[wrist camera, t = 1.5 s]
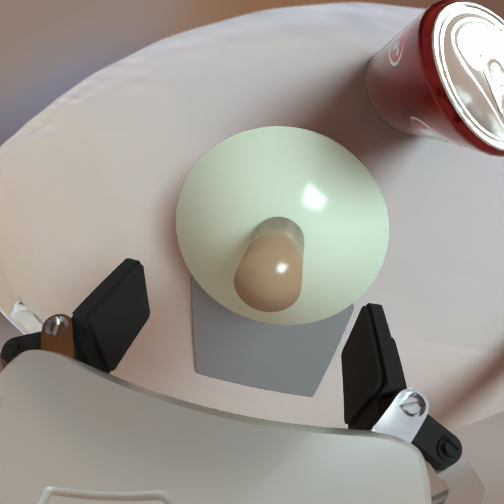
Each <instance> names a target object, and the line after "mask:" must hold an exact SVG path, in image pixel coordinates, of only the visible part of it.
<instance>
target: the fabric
mask: <svg viewBox="0 0 504 504" xmlns="http://www.w3.org/2000/svg"><path fill="white" fill-rule="evenodd" d="M10 317H11V318H12V319H13V320H16V321H17V322H19V323H20V324H22V325H23V326H24V327H25V328H26V329H27V332H28V334H31V333H35V332H39V331H42V326H43V324H42V323H41V322H40V321H39V320H38V319H37V318H36V317H35V315H34V314H33V313H32V312H31V311H30V310H28V309H27V308H26V307H25V306H24V305H22V304H21V300H20V301H18V302H16V303H15V304H14V306H13V309H12V312H11V314H10Z"/></svg>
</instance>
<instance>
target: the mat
mask: <svg viewBox="0 0 504 504" xmlns="http://www.w3.org/2000/svg"><path fill="white" fill-rule="evenodd" d="M191 286H192V315H193V335H194V351H195V365H196V373H198V374H201V375H205V376H209V377H213V378H216V379H220V380H224V381H228V382H233V383H237V384H241V385H246V386H250V387H255V388H260V389H265V390H270V391H276V392H282V393H288V394H294V395H300V396H308V397H313V395H314V393H315V391H316V389H317V388H318V386H319V384H320V382H321V380H322V378H323V376H324V374H325V372H326V370H327V368H328V366H329V364H330V361H331V359H332V357H333V355H334V353H335V351H336V349H337V346H338V344H339V342H340V340H341V338H342V335H343V333H344V331H345V328H346V326H347V324H348V321H349V319H350V316H351V314H352V312H353V309H354V307H353V304H351V305H350V306H348V307H347V308H346V309H344V310H342V311H340V312H339V313H337V314H335V315H333V316H330V317H328V318H325V319H323V320H319V321H316V322H312V323H306V324H301V325H275V324H268V323H263V322H259V321H255V320H251V319H249V318H246V317H243V316H241V315H239V314H237V313H235V312H233V311H231V310H229V309H227V308H226V307H224V306H223V305H221V304H220V303H218V302H217V301H216V300H214V299H213V298H212V297H211V296H210V295H209V294H208V293H207V292H206V291H205V290H204V289H203V288H202V287H201V286H200V285H199V284H198V282H197V281H196V280H195V279H194V277H193V276H192V277H191Z"/></svg>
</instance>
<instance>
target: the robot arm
mask: <svg viewBox="0 0 504 504" xmlns="http://www.w3.org/2000/svg"><path fill="white" fill-rule="evenodd" d="M149 315H150V309H149V303H148V297H147V290H146V283H145V275H144V268H143V265H141V263H140V261H138V260H133V259H129V258H127V259H125V260H124V261H123V262H122V263H121V264H120V265H119V266H118V267H117V268H116V269H115V270H114V271H113V272H112V273H111V274H110V275H109V276H108V277H107V278H106V279H105V280H104V281H103V282H102V283H101V284H100V285H99V286H98V287H97V288H96V289H95V290H94V291H93V292H92V293H91V294H90V295H89V296H88V297H87V298H86V299H85V300H84V301H83V302H82V303H81V304H80V305H79V306H78V307H77V309H76V310H75V311H74V312H73V317H72V318H70V317H69V316H67V315H64V314H56V315H53V316H51V317H49V318H48V319H47V320H46V321H45V322H44V324H43V326H42V331H39V332H35V333H31V334H27V335H23V336H19V337H15V338H12V339H10V340H8V341H7V342H6V343H5V344H4V346H3V348H2V352H1V353H0V504H480V503H481V501H482V500H483V498H484V494H485V488H484V486H483V484H482V482H481V480H480V479H479V477H478V476H477V474H476V473H475V471H474V470H473V468H472V467H471V466H470V464H469V462H468V461H467V459H466V458H463V459H462V458H461V454H462V446H461V443H460V441H459V439H458V438H457V437H456V436H455V435H453V434H452V433H451V432H450V431H448V430H447V429H446V428H445V427H443V426H442V425H441V424H439V423H438V422H437V421H436V420H434V419H433V418H432V417H431V416H429V415H428V412H429V403H428V400H427V398H426V397H425V395H424V394H422V393H421V392H420V391H418V390H416V389H411V388H410V389H407V387H406V382H405V378H404V374H403V370H402V365H401V362H400V358H399V354H398V350H397V347H396V343H395V340H394V339H393V338H391V334H390V331H389V327H388V324H387V321H386V317H385V314H384V311H383V308H382V305H378V304H371V303H368V304H367V305H366V306H363V307H362V308H361V311H360V313H359V315H358V318H357V320H356V322H355V325H354V327H353V329H352V331H351V333H350V336H349V338H348V340H347V342H346V344H345V346H344V348H343V351H342V356H341V360H342V374H343V393H344V421H345V424H348V429H342V428H328V427H317V426H308V425H299V424H291V423H284V422H277V421H270V420H264V419H258V418H253V417H248V416H243V415H238V414H233V413H229V412H224V411H220V410H216V409H212V408H208V407H204V406H200V405H197V404H193V403H189V402H186V401H183V400H179V399H176V398H173V397H170V396H167V395H163V394H160V393H157V392H155V391H152V390H149V389H146V388H143V387H140V386H138V385H135V384H132V383H130V382H127V381H125V380H122V379H120V378H117V377H115V376H113V375H110V374H109V373H110V371H113V370H115V368H116V367H117V365H118V364H119V362H120V361H121V359H122V357H123V356H124V354H125V353H126V351H127V350H128V348H129V347H130V345H131V344H132V342H133V341H134V339H135V338H136V336H137V335H138V333H139V332H140V330H141V329H142V327H143V326H144V324H145V323H146V321H147V320H148V318H149Z"/></svg>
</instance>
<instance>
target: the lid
mask: <svg viewBox="0 0 504 504" xmlns="http://www.w3.org/2000/svg"><path fill="white" fill-rule="evenodd" d="M175 223H176V235H177V240H178V245H179V248H180V251H181V254H182V257H183V259H184V261H185V263H186V265H187V267H188V269H189V271H190V272H191V274H192V276H193V277H194V279H195V280H196V281H197V282H198V284H199V285H200V286H201V287H202V288H203V289H204V290H205V291H206V292H207V293H208V294H209V295H210V296H211V297H212V298H213V299H214V300H216V301H217V302H218V303H220V304H221V305H223V306H224V307H226V308H227V309H229V310H231V311H233V312H235V313H237V314H239V315H241V316H243V317H246V318H249V319H251V320H255V321H259V322H263V323H268V324H275V325H301V324H306V323H312V322H316V321H319V320H323V319H325V318H328V317H330V316H333V315H335V314H337V313H339V312H340V311H342V310H344V309H346V308H347V307H348V306H350V305H351V304H353V303H354V302H355V301H356V300H357V299H358V298H360V297H361V296H362V295H363V294H364V293H365V292H366V290H367V289H368V288H369V287H370V285H371V284H372V283H373V281H374V280H375V278H376V276H377V275H378V273H379V271H380V269H381V266H382V264H383V262H384V258H385V255H386V251H387V247H388V239H389V220H388V214H387V209H386V205H385V202H384V199H383V196H382V193H381V191H380V189H379V187H378V185H377V183H376V181H375V179H374V178H373V176H372V175H371V174H370V172H369V171H368V169H367V168H366V167H365V166H364V165H363V164H362V162H361V161H360V160H359V159H358V158H357V157H356V156H355V155H353V154H352V153H351V152H350V151H348V150H347V149H346V148H345V147H343V146H342V145H341V144H339V143H337V142H335V141H334V140H332V139H330V138H328V137H326V136H324V135H321V134H319V133H316V132H314V131H311V130H306V129H302V128H298V127H288V126H269V127H261V128H256V129H251V130H247V131H244V132H241V133H239V134H236V135H233V136H231V137H229V138H227V139H226V140H224V141H222V142H220V143H218V144H217V145H216V146H214V147H213V148H212V149H210V150H209V151H208V152H207V153H206V154H205V155H204V156H203V157H202V158H201V159H200V160H199V161H198V162H197V163H196V165H195V166H194V167H193V169H192V170H191V171H190V173H189V175H188V176H187V178H186V180H185V182H184V184H183V186H182V189H181V192H180V195H179V198H178V203H177V208H176V222H175Z"/></svg>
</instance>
